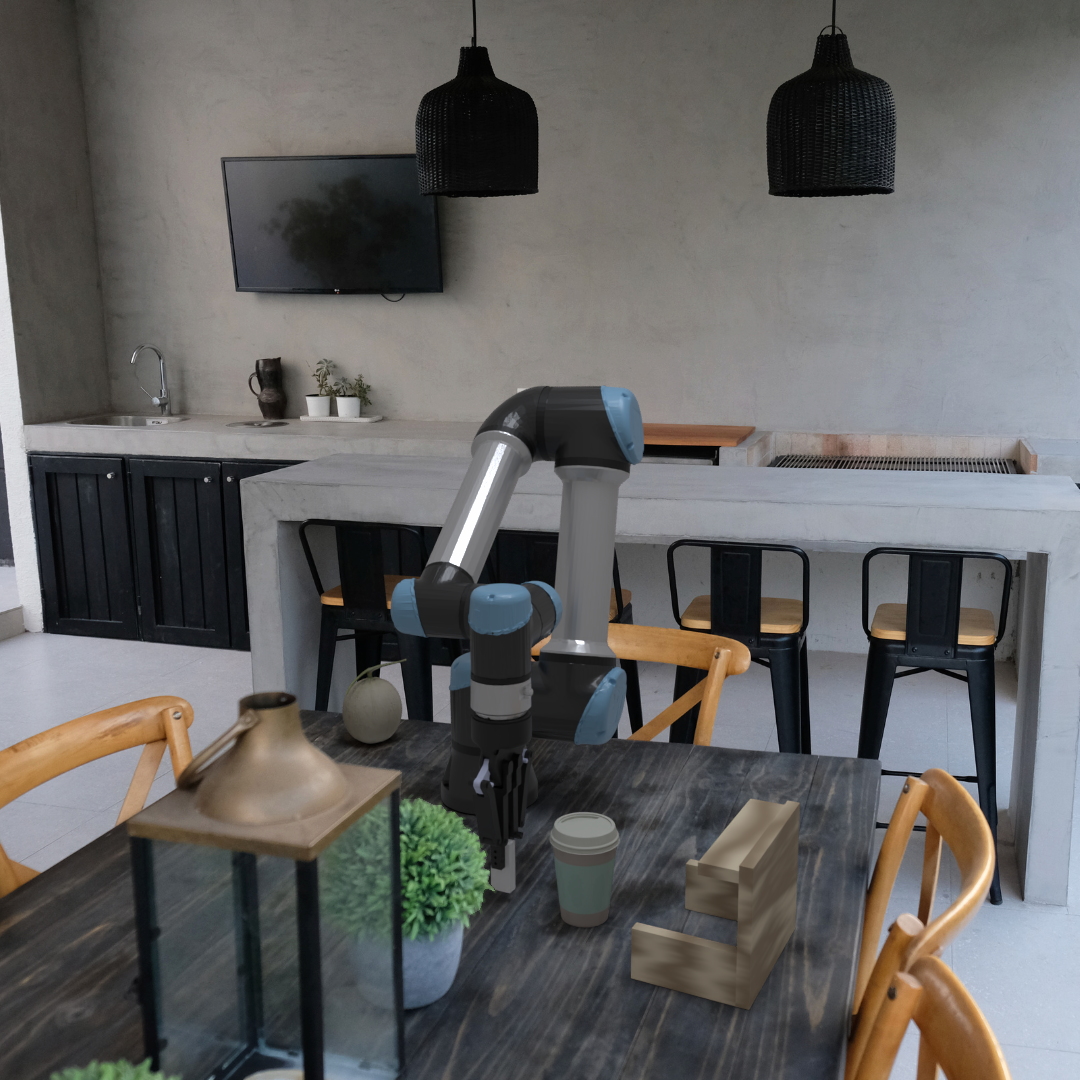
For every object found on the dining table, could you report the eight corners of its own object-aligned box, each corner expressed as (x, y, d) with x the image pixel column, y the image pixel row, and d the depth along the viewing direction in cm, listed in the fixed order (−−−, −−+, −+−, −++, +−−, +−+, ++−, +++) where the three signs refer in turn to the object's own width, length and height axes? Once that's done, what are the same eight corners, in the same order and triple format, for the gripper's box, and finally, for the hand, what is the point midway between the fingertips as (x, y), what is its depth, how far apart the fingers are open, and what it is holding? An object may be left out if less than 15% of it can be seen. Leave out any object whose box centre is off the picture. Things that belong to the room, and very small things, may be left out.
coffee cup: (625, 904, 142) (626, 814, 140) (610, 938, 134) (610, 843, 132) (560, 895, 144) (560, 806, 142) (541, 927, 136) (540, 834, 134)
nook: (630, 978, 125) (632, 843, 123) (689, 903, 142) (691, 783, 139) (749, 1010, 119) (753, 868, 116) (795, 928, 136) (800, 802, 133)
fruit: (327, 743, 199) (324, 662, 197) (376, 727, 208) (373, 648, 206) (366, 757, 193) (363, 673, 190) (415, 739, 201) (413, 658, 199)
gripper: (502, 730, 132) (504, 918, 136) (552, 699, 143) (552, 873, 147) (447, 721, 135) (451, 904, 139) (500, 691, 146) (502, 861, 150)
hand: (503, 888), depth 143 cm, fingers closed
